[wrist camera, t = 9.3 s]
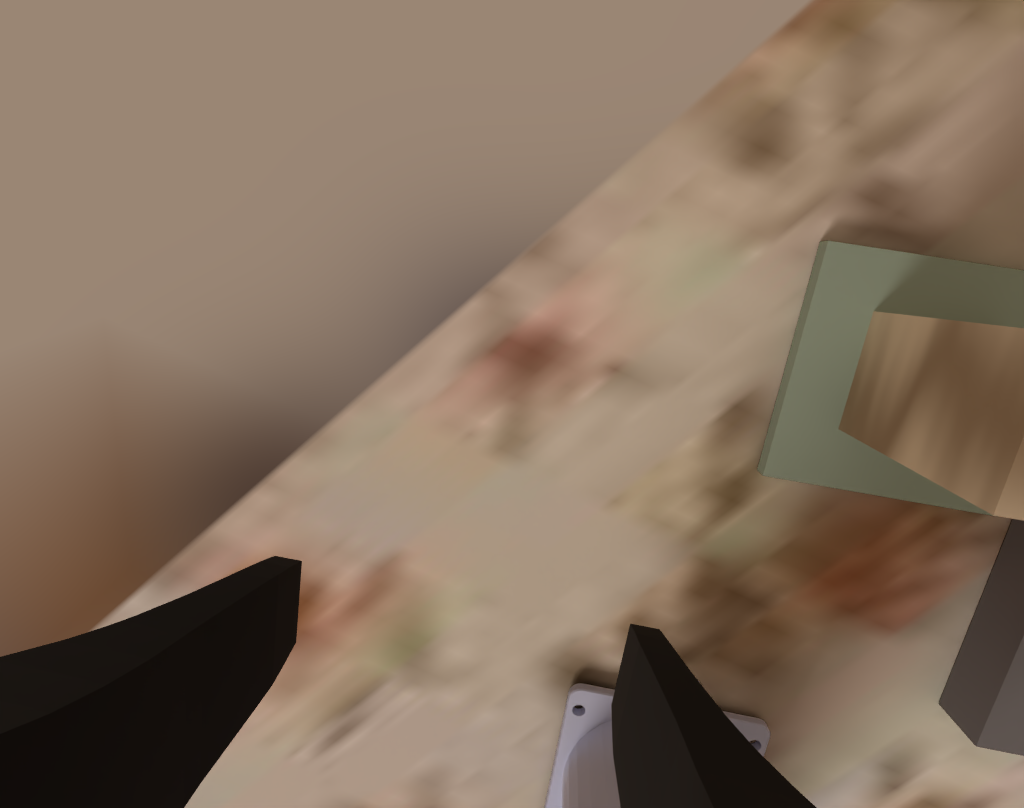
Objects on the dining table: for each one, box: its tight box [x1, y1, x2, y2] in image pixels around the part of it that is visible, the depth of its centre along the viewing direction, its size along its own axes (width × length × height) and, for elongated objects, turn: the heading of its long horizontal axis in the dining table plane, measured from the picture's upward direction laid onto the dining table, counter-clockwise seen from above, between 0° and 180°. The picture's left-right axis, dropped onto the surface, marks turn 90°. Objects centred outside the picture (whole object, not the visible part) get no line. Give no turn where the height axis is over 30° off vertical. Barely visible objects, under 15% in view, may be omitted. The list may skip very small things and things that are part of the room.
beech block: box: [838, 311, 1024, 521], centre depth 15 cm, size 4×4×7 cm
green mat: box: [757, 241, 1024, 517], centre depth 19 cm, size 8×8×1 cm
